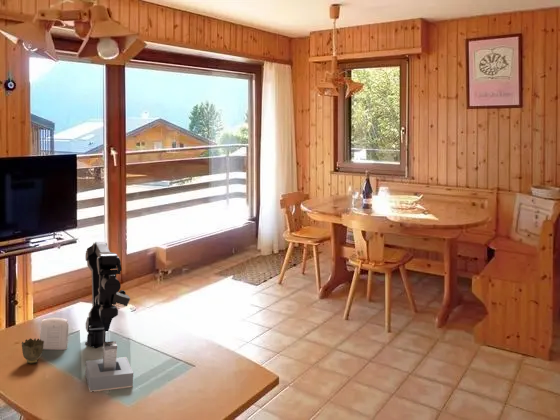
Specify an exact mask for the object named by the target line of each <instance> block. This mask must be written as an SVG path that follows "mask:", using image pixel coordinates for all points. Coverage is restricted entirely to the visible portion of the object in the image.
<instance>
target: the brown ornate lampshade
mask: <svg viewBox="0 0 560 420" xmlns="http://www.w3.org/2000/svg"><path fill="white" fill-rule="evenodd" d="M24 341H25V342H24ZM24 341H22V342H21V348H22V349H21V350H22V352H21V353H22V355H23V358H24V359H25V360H26V363H27V364H29V365H34V364H37V363H38V361H39V358H41V356H42V354H43V351H44V349H43V345H44V341H42V340H41V339H40V338H34V339H33V338H28V339H25V340H24Z"/></svg>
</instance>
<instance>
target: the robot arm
mask: <svg viewBox="0 0 560 420" xmlns="http://www.w3.org/2000/svg"><path fill="white" fill-rule="evenodd" d="M85 261H86V263H87V265H86V266H87V267H88V268H89V270H90V271H91V301H92V302H91V304H92V306H91V309H90V310H89V312H88V316H87V317H86V321H85V330H86V333H87V338H86V339H87V340H86V342H84V344H85V345H88V347H92V348H94V349H96V348H99V347H102V346H103V342H107V341H106V335H107V334H106V332H109V331H110V329H111V324H112V321H113V319H114V318H116V317H117V316H118V315H119V309H118V307H117V306H116V305H117V304H119V305H122V306H123V307H128V305H129V302H130V300H131V297H130V296H129V295H128V294H126V293H127V292H126V291H125V290H123V289H121V282H120V281H119V280H118V278H117V275H121V271H122V270H123V269H122V262H121V259H120V257H119V256H118V253H116V252H111V251H110V249H109V247H108V244H107V242H106V241H95V242H93V243H92V245H91V246H89V247H87V249H86V251H85Z"/></svg>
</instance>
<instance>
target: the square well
mask: <svg viewBox="0 0 560 420" xmlns="http://www.w3.org/2000/svg"><path fill="white" fill-rule="evenodd" d="M102 365H103V358H101V359H92V360H89V359H88V360H86V361H85V372H84V374H85V375H84V376H85V379H86V382H87V386H88V389H89V390H90V391H89V392H90V393H91V392H92V391H94V392H101V391H109V390H117V389H119V390H120V389H126V388H133V386H134V371H133V369H132V367H131V364H130V362H129V359H128V358H127V356H123V357H116V371H106V372H102ZM92 393H93V392H92Z"/></svg>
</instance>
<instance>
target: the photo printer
mask: <svg viewBox="0 0 560 420" xmlns="http://www.w3.org/2000/svg"><path fill="white" fill-rule="evenodd" d="M39 331H40V333H39V340H40V339H41V340H42V341H44V345H43V350H56V351H57V350H67V349H68V343H69V320H68V319H65V318H63V317H62V318H61V317H48V318H44V319H42V320H41V323H40V330H39Z"/></svg>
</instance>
